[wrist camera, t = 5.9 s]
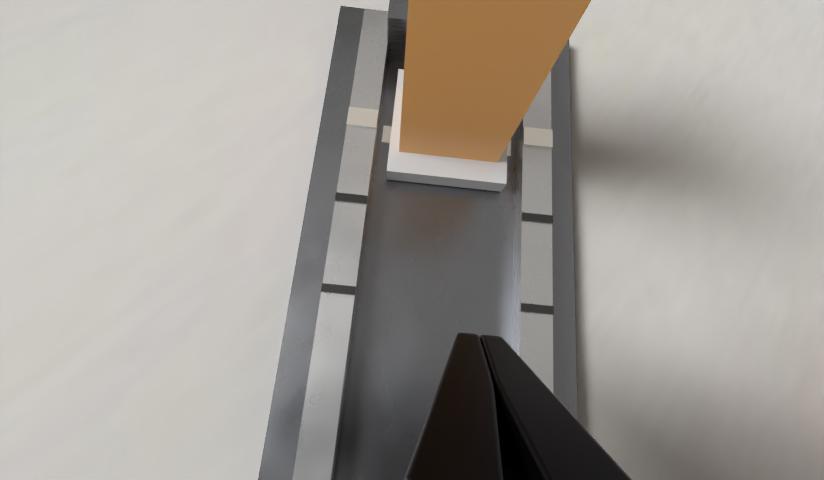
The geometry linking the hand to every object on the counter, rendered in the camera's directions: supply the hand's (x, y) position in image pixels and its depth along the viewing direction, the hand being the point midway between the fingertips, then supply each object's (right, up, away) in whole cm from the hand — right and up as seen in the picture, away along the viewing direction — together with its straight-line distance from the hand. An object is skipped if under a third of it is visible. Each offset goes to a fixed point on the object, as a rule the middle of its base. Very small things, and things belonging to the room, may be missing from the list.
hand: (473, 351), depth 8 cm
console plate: (0, +3, +10) cm, 10 cm away
